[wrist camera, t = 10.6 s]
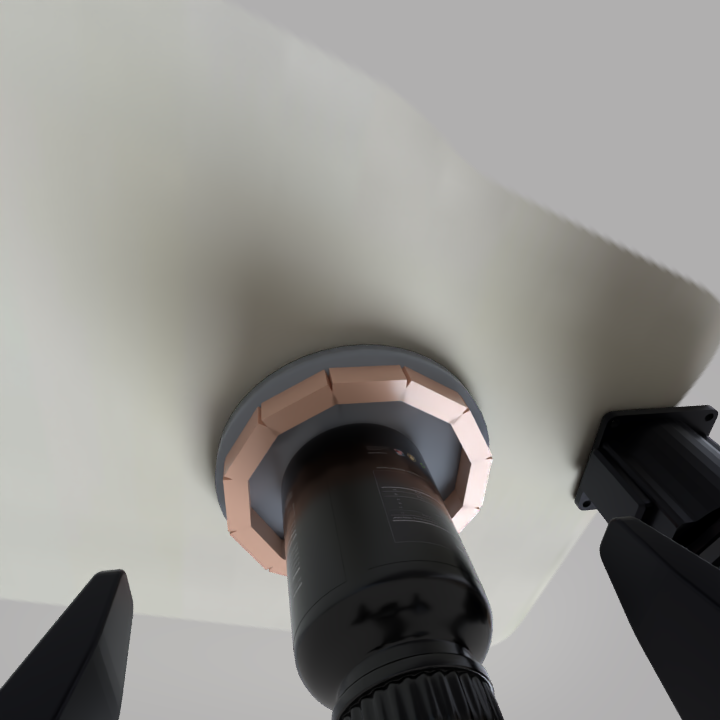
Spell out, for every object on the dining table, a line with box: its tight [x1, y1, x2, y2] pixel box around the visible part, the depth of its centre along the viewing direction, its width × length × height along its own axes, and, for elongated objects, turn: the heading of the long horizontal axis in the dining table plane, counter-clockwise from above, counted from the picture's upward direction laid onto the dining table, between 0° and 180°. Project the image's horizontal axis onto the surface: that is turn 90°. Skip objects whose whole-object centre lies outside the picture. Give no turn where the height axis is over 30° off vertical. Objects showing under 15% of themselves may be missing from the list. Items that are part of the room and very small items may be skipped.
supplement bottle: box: [281, 423, 504, 720], centre depth 19 cm, size 7×7×12 cm
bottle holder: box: [215, 345, 493, 576], centre depth 24 cm, size 13×13×2 cm
